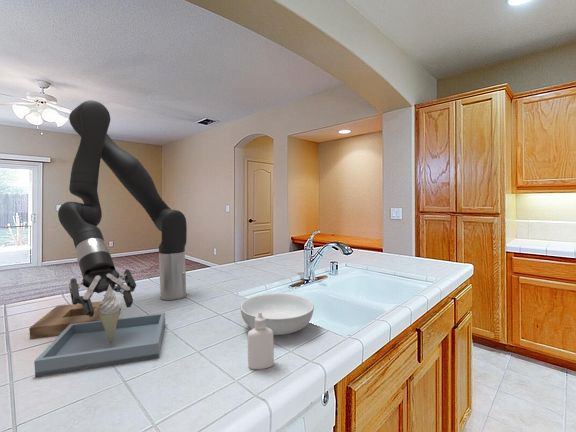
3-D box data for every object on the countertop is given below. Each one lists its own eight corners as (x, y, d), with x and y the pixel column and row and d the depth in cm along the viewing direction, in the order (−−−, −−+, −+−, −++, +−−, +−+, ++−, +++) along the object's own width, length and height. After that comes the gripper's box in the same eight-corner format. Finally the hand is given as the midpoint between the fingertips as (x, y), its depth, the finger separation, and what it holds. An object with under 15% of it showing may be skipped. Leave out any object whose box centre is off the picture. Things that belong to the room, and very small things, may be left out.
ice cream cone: (112, 347, 74) (109, 287, 73) (94, 345, 75) (92, 286, 74) (126, 338, 79) (125, 281, 78) (110, 336, 80) (108, 280, 79)
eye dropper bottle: (253, 358, 70) (252, 307, 70) (276, 362, 69) (275, 310, 68) (245, 368, 66) (244, 314, 66) (269, 372, 65) (268, 317, 64)
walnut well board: (119, 308, 104) (119, 299, 104) (105, 329, 87) (105, 319, 87) (57, 314, 99) (57, 305, 99) (30, 338, 82) (29, 327, 81)
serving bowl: (289, 352, 73) (289, 324, 73) (225, 333, 84) (224, 308, 84) (326, 322, 91) (326, 299, 90) (269, 309, 102) (268, 289, 101)
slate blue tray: (165, 324, 90) (164, 312, 90) (158, 357, 71) (158, 343, 71) (70, 336, 83) (70, 323, 83) (35, 377, 64) (34, 361, 64)
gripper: (65, 254, 75) (80, 310, 68) (126, 246, 86) (144, 295, 79) (61, 271, 79) (75, 326, 72) (119, 263, 90) (137, 310, 83)
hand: (111, 310), depth 76 cm, fingers open, 8 cm apart
